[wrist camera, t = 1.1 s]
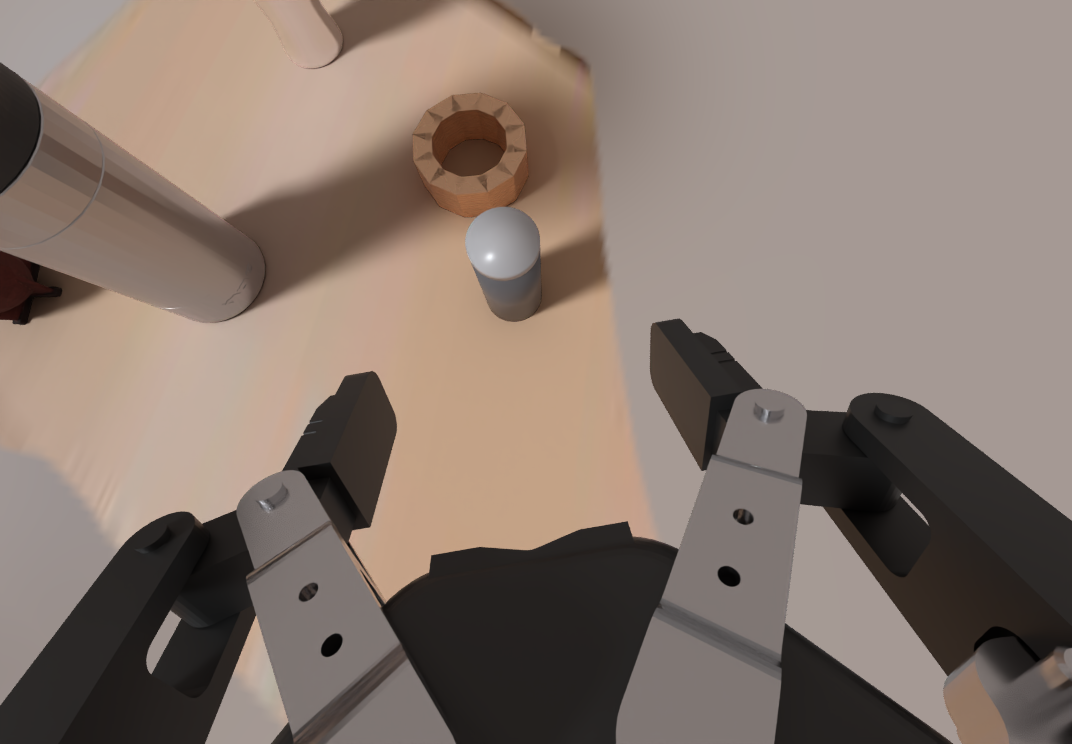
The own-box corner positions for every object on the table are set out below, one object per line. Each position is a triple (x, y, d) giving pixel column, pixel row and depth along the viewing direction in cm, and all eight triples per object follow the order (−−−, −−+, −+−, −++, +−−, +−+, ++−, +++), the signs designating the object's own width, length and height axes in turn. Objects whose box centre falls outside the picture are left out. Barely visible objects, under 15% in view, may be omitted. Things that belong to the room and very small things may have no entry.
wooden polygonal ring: (406, 192, 39) (392, 167, 36) (454, 109, 41) (445, 78, 37) (499, 232, 38) (494, 211, 35) (544, 146, 40) (544, 117, 36)
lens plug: (477, 308, 37) (452, 257, 27) (501, 261, 38) (486, 195, 28) (527, 330, 37) (519, 287, 27) (550, 282, 37) (552, 224, 27)
